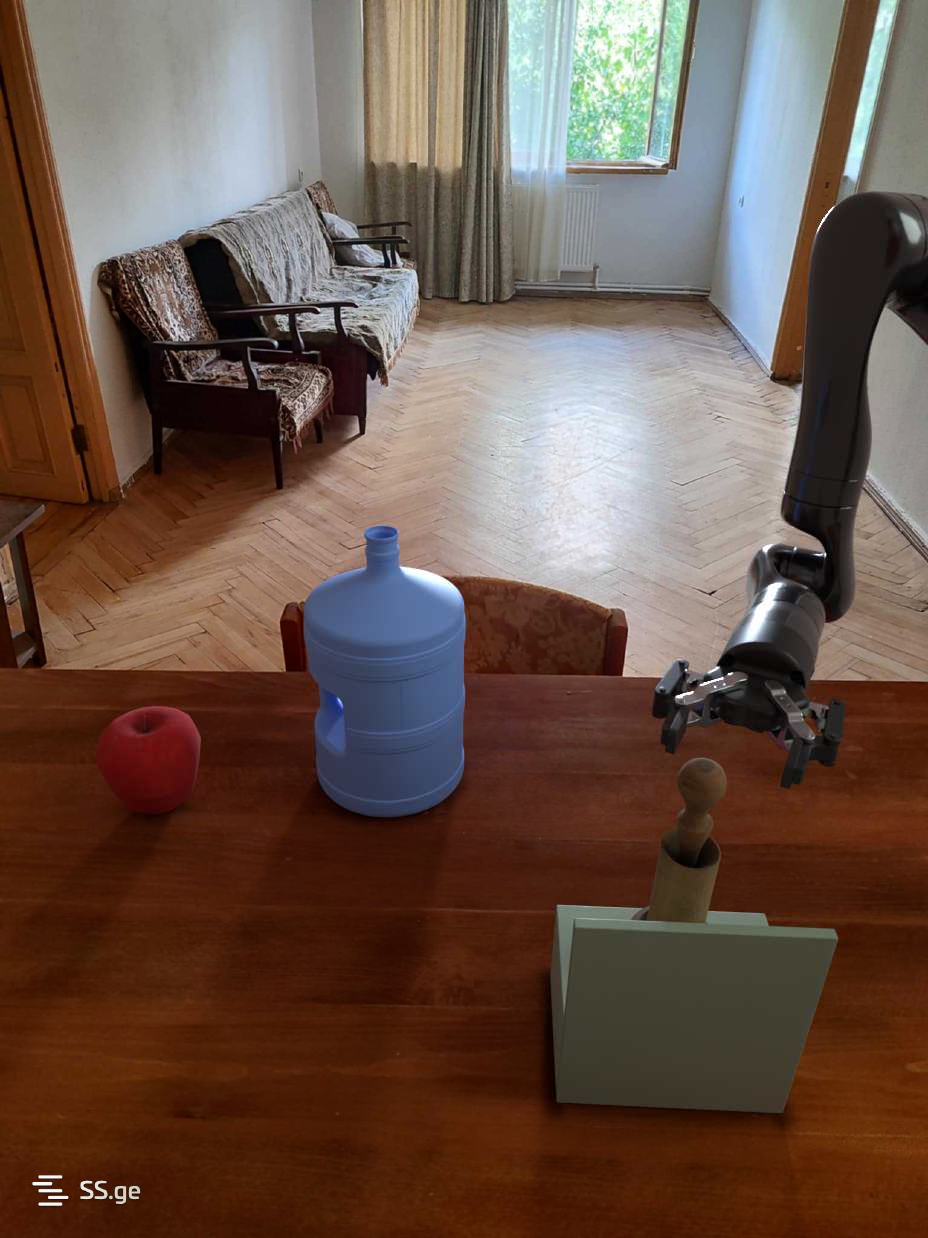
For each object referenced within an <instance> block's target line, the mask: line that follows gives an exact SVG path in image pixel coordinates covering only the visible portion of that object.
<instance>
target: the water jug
mask: <svg viewBox="0 0 928 1238" xmlns="http://www.w3.org/2000/svg"><path fill="white" fill-rule="evenodd" d="M363 537H364V539H365V541H366V545H365V548H364V555H365V558H366V560H365V561H366V567H361V568H357V569H356V568H355V569H352V570H348V571H345V572H341V573H338V574H337V575H334V576H332V577H330V578H328V579H326V580H324V581H322V582H321V583H320V584H318V585H317V586H316V587H315V588H314V589H313V590H312V591H311V592H310V593H309V595H308V596H307V598H306V600H305V603H304V606H303V618H304V619H303V636H304V644H305V649H306V652H307V663H308V670H309V673H310V675H311V677H312V678H313V680H314V681H315V683H316V684H318V694H319V704H320V705H319V707H318V709H317V711H316V714H315V718H314V725H313V726H314V727H313V728H314V739H315V748H316V754H315V755H316V757H315V766H316V774H317V779H318V782H319V785H320V786H321V788H322V790H323V791H324V793H325V794H326V796H328V798H330V800H332V801H333V802H334V803H335V804H337V805H338V806H340V807H342V808H343V809H346V810H347V811H350V812H351V813H355V814H359V815H362V816H366V817H374V818H399V817H406V816H407V817H408V816H411V815H416V814H419V813H421V812H422V813H423V812H424V811H427V810H429V809H431V808H433V807H435V806H436V805H438V804H441V803H442V802H443V801H445V800H446V799H447V798H448V797H450V795H451V794H452V793H453V792H454V791H455V790H456V788H457V787H458V785H459V783H460V782H461V780H462V778H463V775H464V769H465V749H464V713H465V706H466V689H465V683H464V679H465V678H464V677H465V673H464V672H465V642H466V631H467V630H466V627H467V623H466V620H467V619H466V613H465V601H464V598H463V595H462V593H461V592H460V591H459V589H458V588H457V586H455V584H453V583H452V582H450V581H449V580H448V579H446V578H444V577H442V576H441V575H439V574H436V573H434V572H431V571H427V570H425V569H424V570H423V569H419V568H415V567H408V566H401V565H400V546H399V544H398V538H399V537H400V532H399V529H397V528H396V527H394V526H390V525H374V526H371V527H368V528H366V529H365V530H364V532H363Z"/></svg>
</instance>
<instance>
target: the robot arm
mask: <svg viewBox="0 0 928 1238" xmlns="http://www.w3.org/2000/svg"><path fill="white" fill-rule="evenodd" d="M809 259H810V260H809V267H808V278H807V279H808V280H807V296H806V317H805V333H804V349H803V364H802V365H803V367H802V379H801V391H800V402H799V403H800V404H799V411H798V419H797V425H796V430H795V434H794V441H793V446H792V450H791V455H790V458H789V464H788V468H787V472H786V478H785V482H784V486H783V490H782V491H783V492H782V495H781V500H780V507H779V516H780V518H781V520H782V521H783V522H784V523H785V524H786V525H788V526H789V527H791V528H794V529H795V530H797V531H800V532H801V533H805V534H806V535H809V536H811V537H812V538H814V539H816V540H817V541H818V542H819V543H820V545H821V546H822V548H823V550H824V551H820V550H814V549H809V548H806V547H805V548H804V547H800V546H795V545H790V544H785V543H771V544H767V545H765V546H762V547H761V548H759V549H758V550H757V551H756V552H755V553H754V555H753V556H752V558H751V559H750V562H749V564H748V567H747V572H746V579H745V588H746V598H747V603H748V607H747V609H746V611H745V612H744V615H743V616H742V618H741V619H740V620H739V621H738V623H737V624H736V625H735V628H734V629H733V631H732V633H731V634H730V637H729V639H728V641H727V643H726V645H725V647H724V648H723V650H722V653H721V655H720V657H719V659H718V661H717V663H716V665H715V667H714V668H713V669H712V670H709V671H706V673H701V672H697V671H694V670H691V669H689V668H690V662H689V660H687V659H683V658H679V659H676V660H674V662H673V663H672V664H671V666H670V667H669V669H668V670H667V671H666V673H665V674H664V675H663V677H662V678H661V680H660V681H659V682H658V684H656V687H654V693H653V700H652V701H653V702H652V707H651V708H652V709H651V716H652V717H653V718H656V719H658V720H661V719H664V722H663V723H662V725H661V733H660V739H659V740H660V744H661V745H662V746H665V747H664V752H665V753H667V754H671V755H676V753H677V750H678V748H679V747H680V744H681V742H682V741H683V738H684V736H685V734H686V732H687V728H690V727H693V726H697V725H698V726H700V727H701V728H705V727H706V728H707V727H708V726H709V727H710V726H711V725H715V724H718V723H722V722H723V724H726V725H730V726H735V727H742V728H746V729H747V730H750V731H752V732H756V733H759V734H764V732H765V733H766V734H767V736H768V737H769V738H770V739H771V740H772V741H773V743H774V744H775V745H776V747H777V748H778V749H779V750H783V749H784V750H785V751H786V753H787V754H788V755H787V758H786V760H785V764H784V768H783V773H782V777H781V781H780V785H779V787H781V788H784V789H787V790H791V787H792V784H793V785H797V786H799V785H801V784H802V783H803V782H804V780H805V775H806V772H807V769H808V768H807V767H808V764H809V763H810V762H812V761H813V762H814V761H818V763H819V764H820V765H821V766H823V767H826V768H832V767H835V765H836V763H837V757H838V753H839V748H840V746H841V744H842V740H843V735H844V734H843V733H844V725H845V717H846V716H845V715H846V706H847V704H846V702H845V701H844V700H842V699H839V698H831V699H830V700H829V702H828V705H826V704H822V703H817V702H813V701H810V699H809V697H808V695H807V692H808V689H809V685H810V684H811V681H812V679H811V678H812V677H813V675H814V673H815V671H816V665H817V664H816V663H817V661H818V657H819V644H820V642H821V641H820V640H821V638H822V635H823V633H824V629H825V624H833V623H835V622H837V621H839V620H841V619H842V618H843V617H844V616H845V615H847V613H848V612H849V611H850V609H851V608H852V606H853V603H854V600H855V597H856V587H857V586H856V585H857V583H856V581H857V580H856V567H855V550H854V549H855V548H854V539H855V537H854V536H855V523H856V517H857V512H858V508H859V502H860V500H861V496H862V493H863V489H864V485H865V480H866V476H867V473H868V469H869V466H870V459H871V453H872V443H873V427H872V417H871V416H872V415H871V408H870V400H869V399H870V398H869V387H868V377H869V361H870V355H871V349H872V345H873V340H874V337H875V333H876V331H877V327H878V325H879V322H880V319H881V316H882V313H883V312H884V309H888V311H891V312H892V313H893V315H896V317H898V318H899V319H900V320H901V321H902V322H903V323H905V324H906V325H907V326H908V327H909V328H910V330H912V332H913V333H914V334H915V335H916V336H917V338H919V339H920V340H921V341H922V342H923V343H924V344H925V346H926V347H927V348H928V196H926V195H922V194H917V193H911V192H910V193H908V192H896V191H895V192H894V191H881V190H879V191H877V190H874V191H873V190H872V191H861V192H857V193H855V194H852V195H849V196H847V197H845V198H844V199H842V200H840V201H839V202H838V203H836V205H834V206H833V207H832V208H831V209H830V210H829V211H828V213H827V214H826V215H825V217H823V219H822V221H821V223H820V225H819V227H818V228H817V231H816V233H815V235H814V239H813V243H812V248H811V252H810V258H809ZM694 689H695V690H694ZM692 690H694V691H692ZM690 708H692V709H691V710H690ZM806 718H808V719H810V720H812V722H813V725H814V726H815V727H816V729H815V730H816V733H818V734H821V735H816V733H815V732H814V731H813V730H812V729H811V727H810V726H809V725H808V724H807V722H805V719H806Z"/></svg>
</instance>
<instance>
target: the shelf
mask: <svg viewBox="0 0 928 1238" xmlns="http://www.w3.org/2000/svg"><path fill="white" fill-rule="evenodd" d="M641 909H642V907H641V908H640V907H639V908H638V907H616V906H615V907H613V906H592V905H591V906H590V905H589V906H588V905H568V904H567V905H565V904H557V905H556V909H555V918H554V929H553V941H552V954H551V964H550V976H549V977H550V996H551V1015H552V1016H551V1018H552V1036H553V1037H552V1038H553V1057H554V1059H553V1060H554V1077H555V1097H556V1103H559V1104H560V1103H561V1104H581V1105H600V1106H602V1105H603V1106H621V1107H622V1106H623V1107H641V1108H642V1107H643V1108H662V1109H663V1108H664V1109H683V1110H704V1111H705V1110H707V1111H709V1110H710V1111H726V1112H744V1113H745V1112H747V1113H766V1114H767V1113H768V1114H783V1113H784V1110H785V1106H786V1104H787V1101H788V1097H789V1095H790V1092H791V1089H792V1085H793V1082H794V1079H795V1076H796V1072H797V1069H798V1066H799V1063H800V1060H801V1057H802V1053H803V1050H804V1048H805V1045H806V1041H807V1038H808V1034H809V1032H810V1030H811V1029H810V1028H811V1025H812V1022H813V1019H814V1017H815V1013H816V1010H817V1007H818V1003H819V1001H820V998H821V994H822V991H823V988H824V984H825V982H826V980H827V979H826V978H827V975H828V973H829V970H830V966H831V963H832V960H833V956H834V954H835V950H836V947H837V944H838V941H839V937H838V934H837V932H836V929H835V928H823V927H822V928H821V927H801V926H800V927H798V926H778V925H777V926H776V925H775V926H774V925H769V923H768V920H767V917H766V914H765V913H759V912H734V911H712V910H711V911H710V910H708V914H707V918H706V922H707V923H708V924H706V923H682V922H658V921H634V920H631V919H632V917H633V916H634V915H635V914H636V913H637V912H638V911H640V910H641Z"/></svg>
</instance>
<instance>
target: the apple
mask: <svg viewBox="0 0 928 1238" xmlns="http://www.w3.org/2000/svg"><path fill="white" fill-rule="evenodd" d="M201 741H202V737H201V735H200V732H199V730H198V728H197V726H196V724H195V722H194V721H193V719H192V718H191V716H190V714H188V713H186V712H184V711H182V710H180V709H179V708H178V709H177V708H175V707H170V706H162V705H159V706H158V705H152V706H151V705H150V706H145V707H144V706H143V707H139V708H137V709H133V710H131V711H130V710H129V711H128V712H126V713H124V714H122V715H121V716H118V717H117V718H115V719H114V720H113V721H112V722H111V723H110V724H109V725H108V726H107V727H105V728H104V730H102V732H101V733H100V734H99V737H98V741H97V744H96V751H95V752H96V753H95V756H94V762H95V764H96V766H97V768H98V770H99V772H100V774H101V775H102V777H103V779H104V781H105V783H106V784H107V786H108V787H109V789H110V790H111V792H112V793H113V794H114V795H115V796H116V797H117V799H119V801H120V802H121V803H122V804H123V805H124V807H126V808H127V809H129V810H131V811H132V812H134V813H141V814H146V815H147V814H149V815H162V814H165V813H168V812H171V811H173V810H174V809H176V808H177V807H179V806H180V805H181V804H183V803H185V802H186V801H187V800H188V799H189V797H190V796H191V794H192V792H193V791H194V788H195V783H196V780H197V775H198V771H199V763H200V755H201V743H202V742H201Z"/></svg>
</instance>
